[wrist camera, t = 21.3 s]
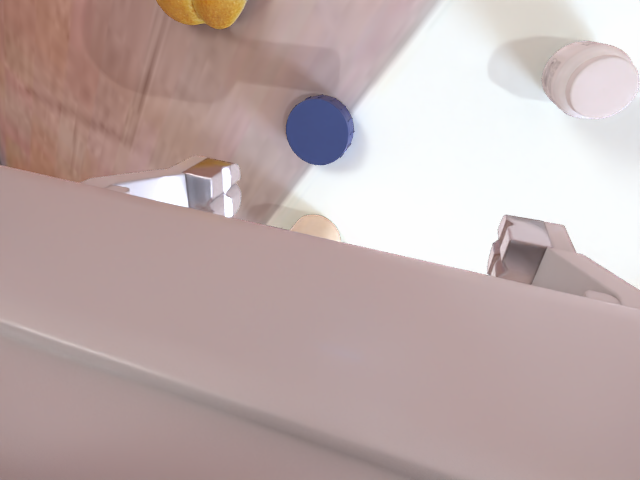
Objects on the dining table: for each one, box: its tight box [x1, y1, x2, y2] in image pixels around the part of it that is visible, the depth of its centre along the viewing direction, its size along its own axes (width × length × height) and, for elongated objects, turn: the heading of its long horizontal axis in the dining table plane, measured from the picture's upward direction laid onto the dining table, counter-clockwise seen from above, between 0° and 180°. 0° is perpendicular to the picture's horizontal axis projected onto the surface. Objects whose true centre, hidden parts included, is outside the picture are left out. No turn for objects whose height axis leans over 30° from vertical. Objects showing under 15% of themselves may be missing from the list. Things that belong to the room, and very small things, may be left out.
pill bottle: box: [542, 41, 639, 119], centre depth 27 cm, size 4×4×8 cm
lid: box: [286, 95, 354, 165], centre depth 37 cm, size 6×6×2 cm
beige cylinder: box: [290, 214, 340, 242], centre depth 39 cm, size 5×5×11 cm
